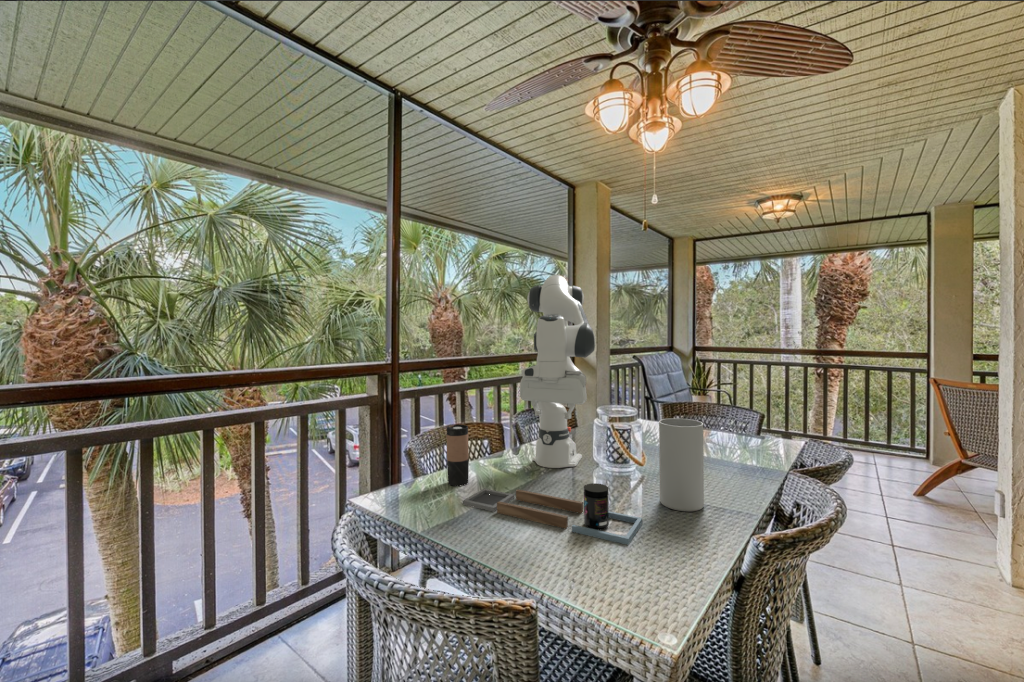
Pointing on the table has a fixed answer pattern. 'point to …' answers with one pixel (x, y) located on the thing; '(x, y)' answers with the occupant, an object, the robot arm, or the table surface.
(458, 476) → the travel mug
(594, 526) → the supplement container
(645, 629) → the table surface
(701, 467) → the cylinder vase
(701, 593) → the table surface
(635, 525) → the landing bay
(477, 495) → the tray
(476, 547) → the table surface
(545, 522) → the channel
